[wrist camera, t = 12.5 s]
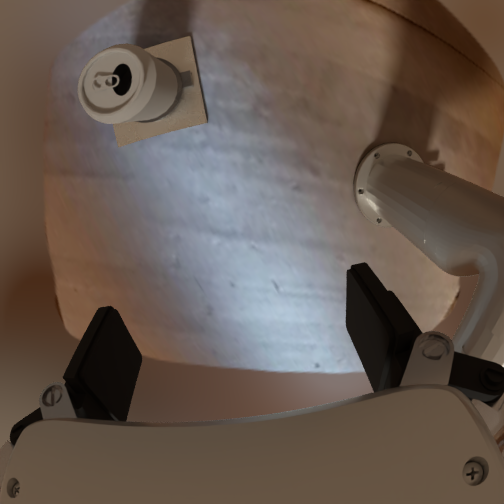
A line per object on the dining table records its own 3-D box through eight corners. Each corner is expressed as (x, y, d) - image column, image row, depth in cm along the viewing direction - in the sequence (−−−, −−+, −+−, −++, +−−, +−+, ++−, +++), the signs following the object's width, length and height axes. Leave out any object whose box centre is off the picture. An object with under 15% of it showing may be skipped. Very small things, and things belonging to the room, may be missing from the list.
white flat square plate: (190, 37, 28) (188, 32, 25) (207, 122, 33) (205, 123, 31) (104, 65, 28) (96, 63, 26) (120, 146, 33) (113, 148, 31)
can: (180, 115, 30) (153, 116, 20) (122, 124, 30) (73, 133, 19) (178, 56, 27) (150, 30, 16) (119, 67, 27) (70, 53, 16)
